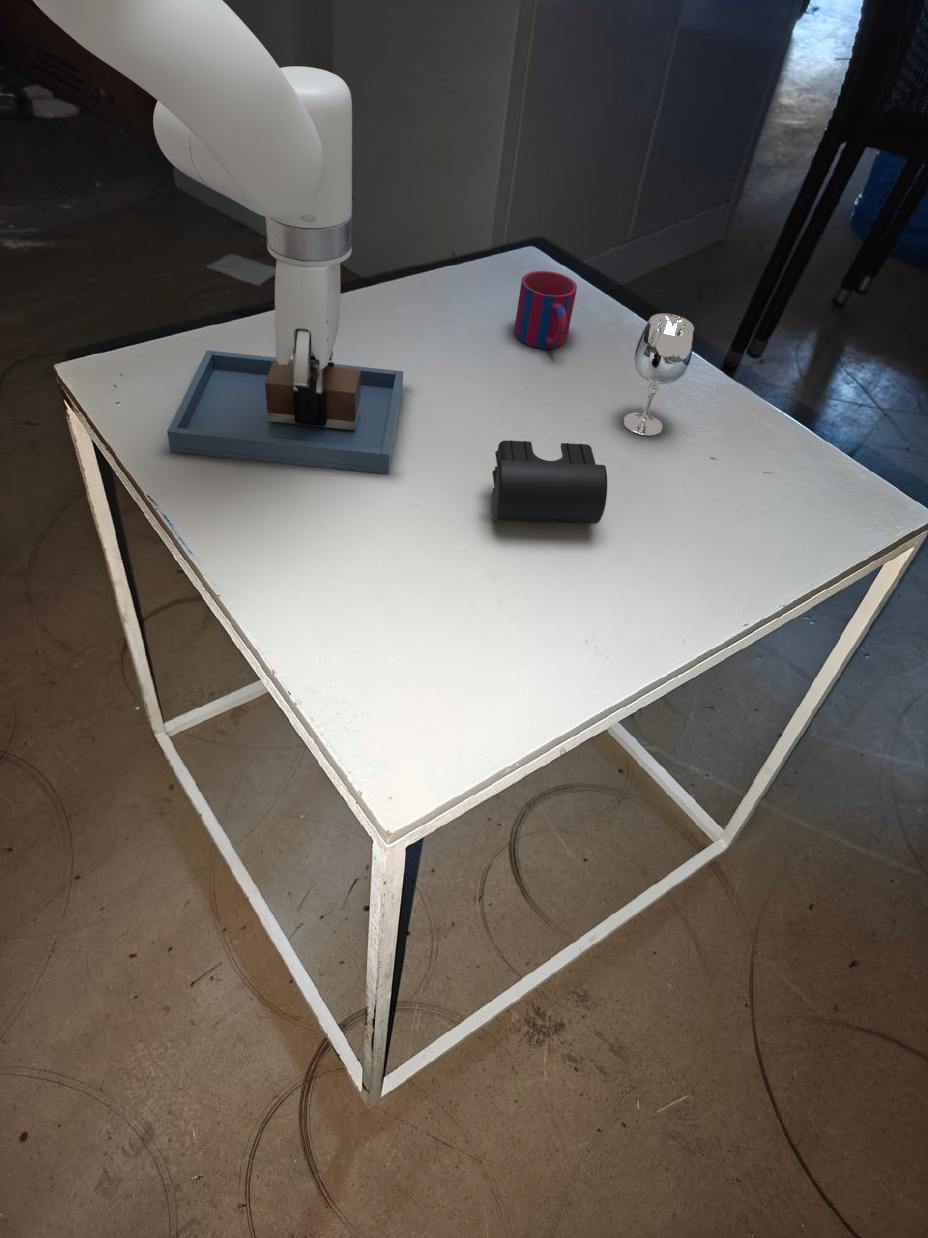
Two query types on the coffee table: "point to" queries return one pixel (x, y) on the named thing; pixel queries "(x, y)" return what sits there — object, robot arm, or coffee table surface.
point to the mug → (544, 309)
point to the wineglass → (660, 363)
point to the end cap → (548, 485)
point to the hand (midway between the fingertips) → (314, 407)
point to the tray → (239, 428)
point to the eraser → (336, 382)
